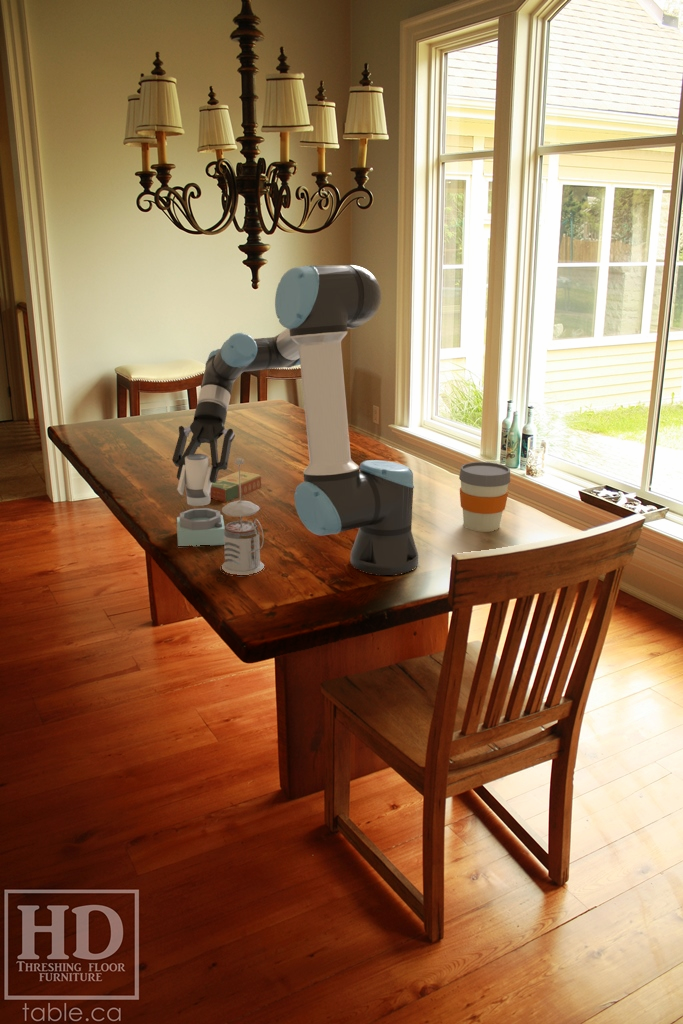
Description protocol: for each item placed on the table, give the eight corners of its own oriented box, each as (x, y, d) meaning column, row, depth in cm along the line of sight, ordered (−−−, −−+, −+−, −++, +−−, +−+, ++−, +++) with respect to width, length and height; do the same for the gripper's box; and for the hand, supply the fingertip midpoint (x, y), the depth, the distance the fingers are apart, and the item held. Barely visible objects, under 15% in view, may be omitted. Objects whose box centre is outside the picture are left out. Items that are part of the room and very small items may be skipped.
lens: (211, 505, 198) (209, 459, 194) (186, 506, 197) (184, 460, 193) (210, 497, 203) (208, 452, 199) (186, 498, 202) (184, 453, 198)
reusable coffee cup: (486, 514, 221) (490, 459, 216) (516, 529, 210) (521, 472, 205) (446, 521, 215) (449, 465, 210) (475, 537, 205) (479, 478, 200)
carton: (261, 488, 241) (261, 474, 240) (226, 503, 228) (225, 488, 227) (239, 483, 245) (238, 469, 244) (202, 498, 232) (201, 483, 231)
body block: (225, 544, 199) (224, 520, 197) (178, 547, 197) (176, 523, 195) (223, 529, 208) (222, 507, 206) (177, 532, 206) (176, 509, 204)
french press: (247, 555, 193) (243, 449, 184) (279, 570, 185) (277, 460, 176) (211, 566, 186) (206, 457, 178) (243, 582, 178) (239, 469, 170)
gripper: (252, 418, 207) (235, 502, 197) (180, 414, 210) (159, 497, 200) (245, 401, 200) (227, 488, 190) (171, 397, 203) (150, 483, 193)
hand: (193, 492), depth 195 cm, fingers closed on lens, 5 cm apart
